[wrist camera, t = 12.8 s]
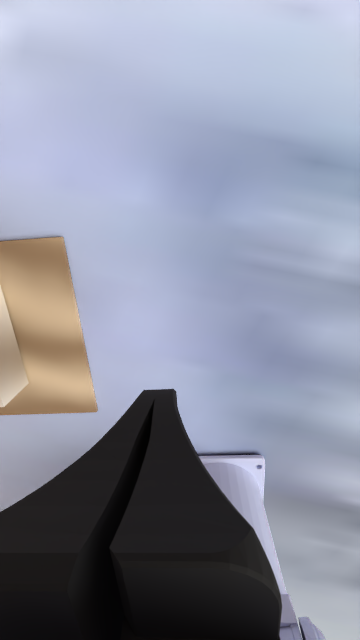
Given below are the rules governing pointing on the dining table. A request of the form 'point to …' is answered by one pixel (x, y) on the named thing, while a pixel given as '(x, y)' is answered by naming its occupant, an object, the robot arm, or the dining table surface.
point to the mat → (45, 328)
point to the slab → (9, 359)
